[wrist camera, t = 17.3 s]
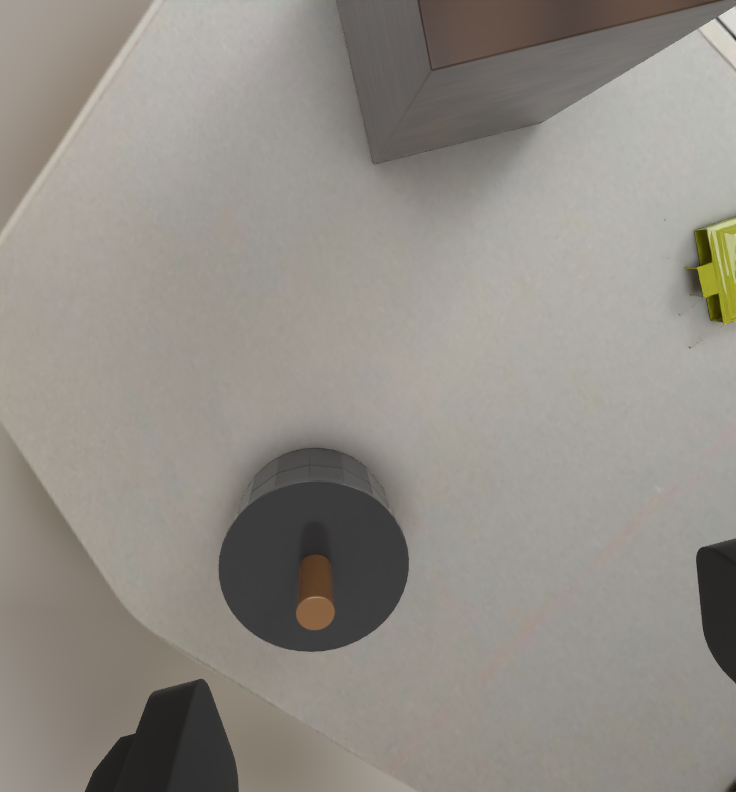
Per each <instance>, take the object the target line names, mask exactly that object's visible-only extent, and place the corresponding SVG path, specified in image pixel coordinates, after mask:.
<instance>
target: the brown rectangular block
mask: <svg viewBox="0 0 736 792" xmlns="http://www.w3.org/2000/svg"><path fill="white" fill-rule="evenodd" d="M336 2H337V6H338V11H339V15H340V20H341V24H342V29H343V33H344V37H345V42H346V46H347V51H348V55H349V60H350V64H351V68H352V73H353V77H354V82H355V86H356V91H357V95H358V99H359V104H360V108H361V113H362V117H363V122H364V126H365V131H366V135H367V139H368V144H369V148H370V153H371V157H372V162H373V164H377V163H381V162H385V161H389V160H393V159H397V158H401V157H405V156H409V155H413V154H418V153H422V152H426V151H430V150H434V149H438V148H442V147H446V146H450V145H454V144H458V143H462V142H466V141H470V140H474V139H478V138H482V137H486V136H490V135H494V134H498V133H503V132H507V131H511V130H515V129H519V128H523V127H527V126H531V125H535V124H539V123H542V122H544V121H545V120H547V119H549V118H550V117H552V116H554V115H555V114H557V113H558V112H560V111H562V110H563V109H565V108H567V107H568V106H570V105H572V104H573V103H575V102H577V101H578V100H580V99H582V98H583V97H585V96H587V95H588V94H590V93H592V92H593V91H595V90H597V89H598V88H600V87H602V86H603V85H605V84H607V83H608V82H610V81H612V80H613V79H615V78H617V77H618V76H620V75H622V74H623V73H625V72H626V71H628V70H630V69H631V68H633V67H635V66H636V65H638V64H640V63H641V62H643V61H645V60H646V59H648V58H650V57H651V56H653V55H655V54H656V53H658V52H660V51H661V50H663V49H665V48H666V47H668V46H670V45H671V44H673V43H675V42H676V41H678V40H680V39H681V38H683V37H685V36H686V35H688V34H690V33H691V32H693V31H695V30H696V29H698V28H699V27H701V26H703V25H704V24H706V23H708V22H709V21H711V20H713V19H714V18H716V17H718V16H719V15H721V14H723V13H724V12H726V11H728V10H729V9H731V8H733V7H734V6H736V0H336Z"/></svg>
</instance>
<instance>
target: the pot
mask: <svg viewBox="0 0 736 792" xmlns="http://www.w3.org/2000/svg"><path fill="white" fill-rule="evenodd" d="M304 478H329V479H336V480H340V481H345V482H348V483H350V484H353V485H356V486H358V487H360V488H362V489H364V490H366V491H368V492H369V493H371V494H372V495H374V496H375V497H376V498H378V499H379V500H380V501H381V502H382V503H383V504H384V505H385V506H386V507H387V508H388V509H389V506H388V503H387V499H386V496H385V493H384V490H383V487H382V486H381V485H380V484H379V482H378V481H377V479H376V478H375V476H374V475H373V474H372V473H371V472H370V470H369V469H368V468H367V467H366V466H365V465H363V464H362V463H361V462H359V461H358V460H356V459H354V458H353V457H351V456H349V455H346V454H344V453H341V452H338V451H335V450H330V449H323V448H309V449H301V450H296V451H293V452H290V453H287V454H284V455H282V456H280V457H278V458H276V459H275V460H273V461H271V462H270V463H268V464H267V465H266V466H265V467H264V468H262V469H261V470H260V471H259V472H258V473H257V474H256V475H255V477H254V478H253V480H252V481H251V483H250V484H249V486H248V488H247V490H246V492H245V494H244V495H243V497H242V499H241V502H240V506H239V509H238V512H237V515H238V514H239V513H240V511H241V510H242V509H243V508H244V507H245V506H246V505H247V504H248V503H249V502H251V501H252V500H253V499H254V498H256V497H257V496H258V495H260V494H262V493H263V492H265V491H267V490H268V489H270V488H273V487H275V486H277V485H280V484H282V483H285V482H289V481H292V480H298V479H304ZM389 510H390V509H389Z"/></svg>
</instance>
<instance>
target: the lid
mask: <svg viewBox="0 0 736 792" xmlns="http://www.w3.org/2000/svg"><path fill="white" fill-rule="evenodd" d="M408 571H409V557H408V549H407V545H406V541H405V537H404V534H403V532H402V530H401V528H400V525H399V523H398V522H397V520H396V519H395V517H394V515H393V514H392V513H391V512H390V510H389V509H388V508H387V507H386V506H385V505H384V504H383V503H382V502H381V501H380V500H379V499H378V498H376V497H375V496H374V495H372V494H371V493H369V492H368V491H366V490H364V489H362V488H360V487H358V486H356V485H353V484H350V483H348V482H345V481H340V480H336V479H329V478H304V479H298V480H292V481H289V482H285V483H282V484H280V485H277V486H275V487H273V488H270V489H268V490H267V491H265V492H263V493H262V494H260V495H258V496H257V497H256V498H254V499H253V500H252V501H251V502H249V503H248V504H247V505H246V506H245V507H244V508H243V509H242V510H241V511H240V513H239V514H238V515H237V516H236V518H235V519H234V520H233V522H232V524H231V526H230V527H229V529H228V531H227V533H226V536H225V538H224V541H223V544H222V548H221V552H220V557H219V580H220V585H221V589H222V592H223V595H224V598H225V600H226V602H227V604H228V606H229V608H230V610H231V611H232V613H233V614H234V615H235V617H236V618H237V619H238V620H239V621H240V622H241V623H242V624H243V625H244V626H245V628H247V629H248V630H249V631H250V632H252V633H253V634H254V635H256V636H257V637H259V638H261V639H263V640H264V641H266V642H269V643H271V644H273V645H275V646H279V647H282V648H285V649H290V650H296V651H307V652H315V651H326V650H332V649H336V648H340V647H343V646H347V645H349V644H351V643H354V642H356V641H358V640H360V639H362V638H363V637H365V636H367V635H368V634H370V633H371V632H372V631H374V630H375V629H377V628H378V627H379V626H380V625H381V624H382V623H383V622H384V621H385V620H386V619H387V618H388V617H389V615H390V614H391V613H392V612H393V610H394V609H395V607H396V605H397V604H398V602H399V600H400V598H401V596H402V594H403V592H404V588H405V585H406V582H407V577H408Z"/></svg>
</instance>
